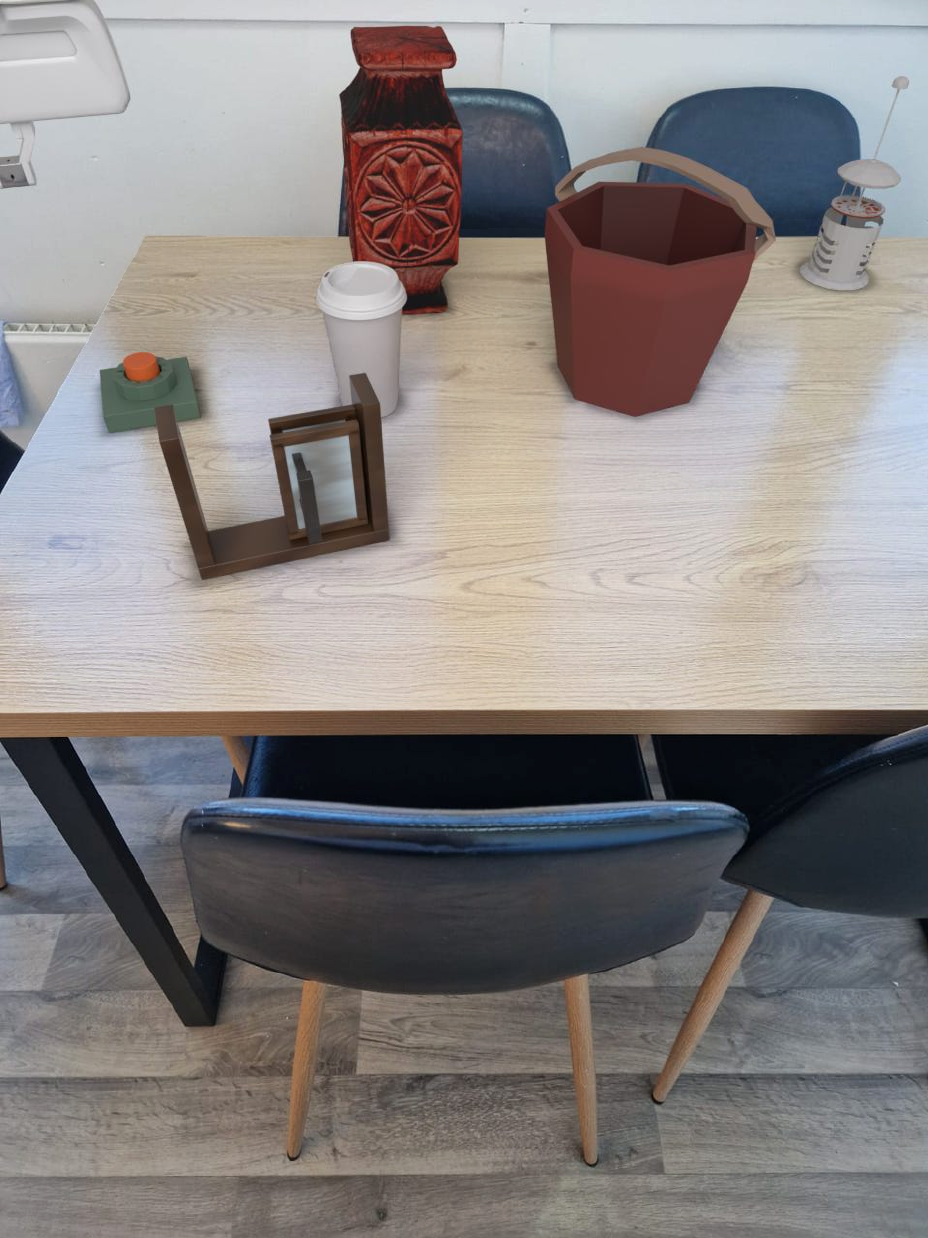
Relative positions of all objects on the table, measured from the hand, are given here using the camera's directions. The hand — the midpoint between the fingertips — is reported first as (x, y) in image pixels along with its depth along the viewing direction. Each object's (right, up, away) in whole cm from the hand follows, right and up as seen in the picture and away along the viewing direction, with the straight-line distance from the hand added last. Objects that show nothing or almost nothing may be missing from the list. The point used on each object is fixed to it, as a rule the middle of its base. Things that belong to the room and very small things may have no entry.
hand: (17, 184), depth 65 cm
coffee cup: (+24, -9, +32) cm, 41 cm away
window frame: (+19, -27, +15) cm, 36 cm away
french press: (+89, +17, +56) cm, 107 cm away
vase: (+27, +10, +49) cm, 57 cm away
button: (-1, -6, +29) cm, 29 cm away
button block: (-1, -9, +31) cm, 33 cm away
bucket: (+55, -5, +36) cm, 66 cm away
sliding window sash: (+23, -27, +13) cm, 38 cm away
